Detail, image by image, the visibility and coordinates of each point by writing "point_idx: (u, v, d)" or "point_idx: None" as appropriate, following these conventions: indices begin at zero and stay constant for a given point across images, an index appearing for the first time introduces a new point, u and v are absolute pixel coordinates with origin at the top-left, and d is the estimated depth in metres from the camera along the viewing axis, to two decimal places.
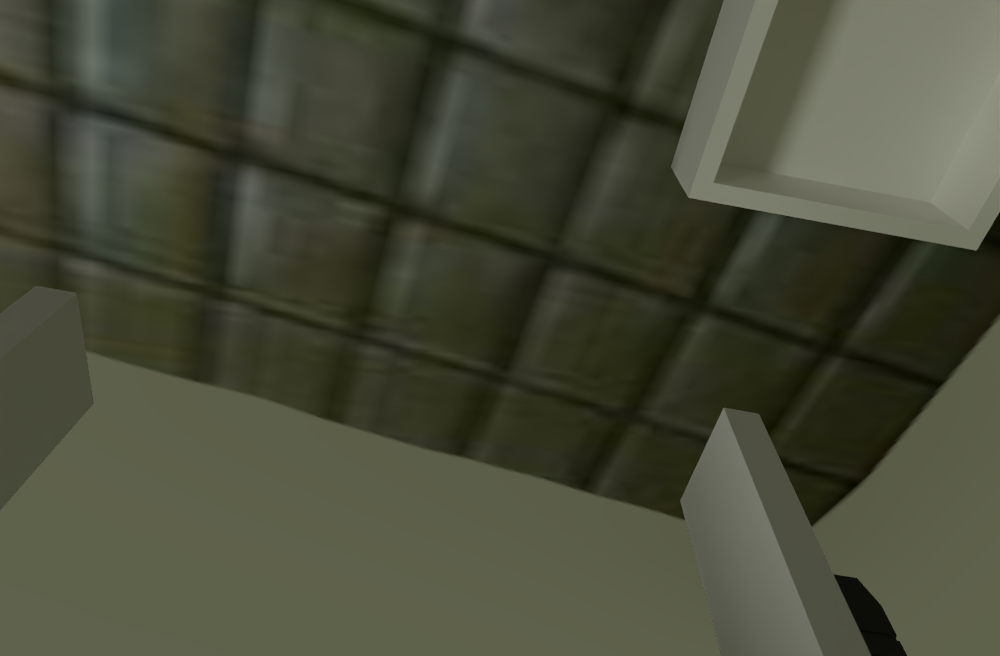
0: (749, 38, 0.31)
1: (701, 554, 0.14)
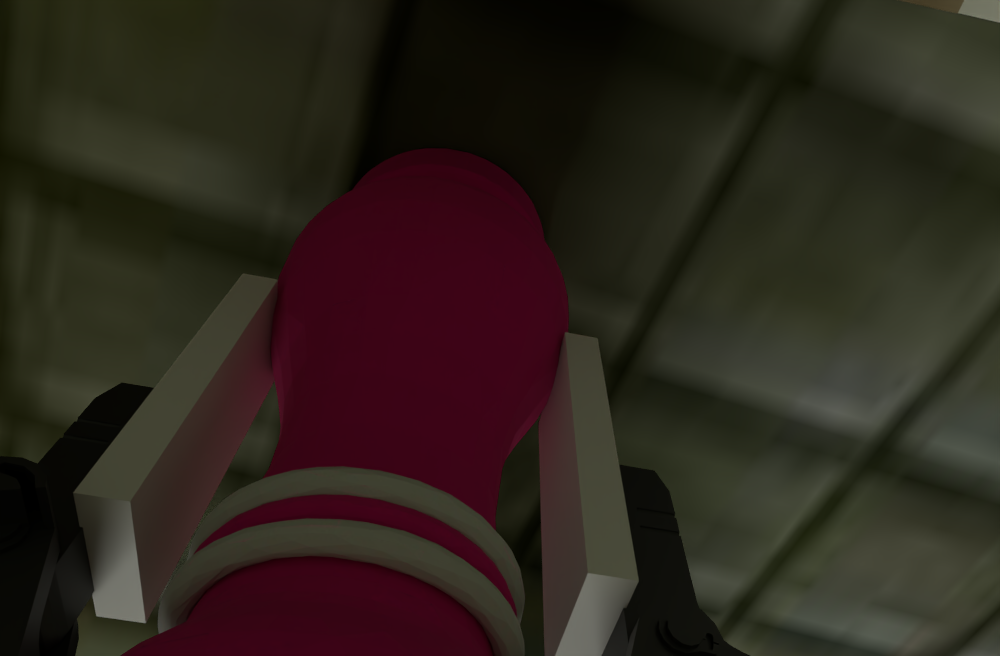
0: None
1: (542, 464, 0.15)
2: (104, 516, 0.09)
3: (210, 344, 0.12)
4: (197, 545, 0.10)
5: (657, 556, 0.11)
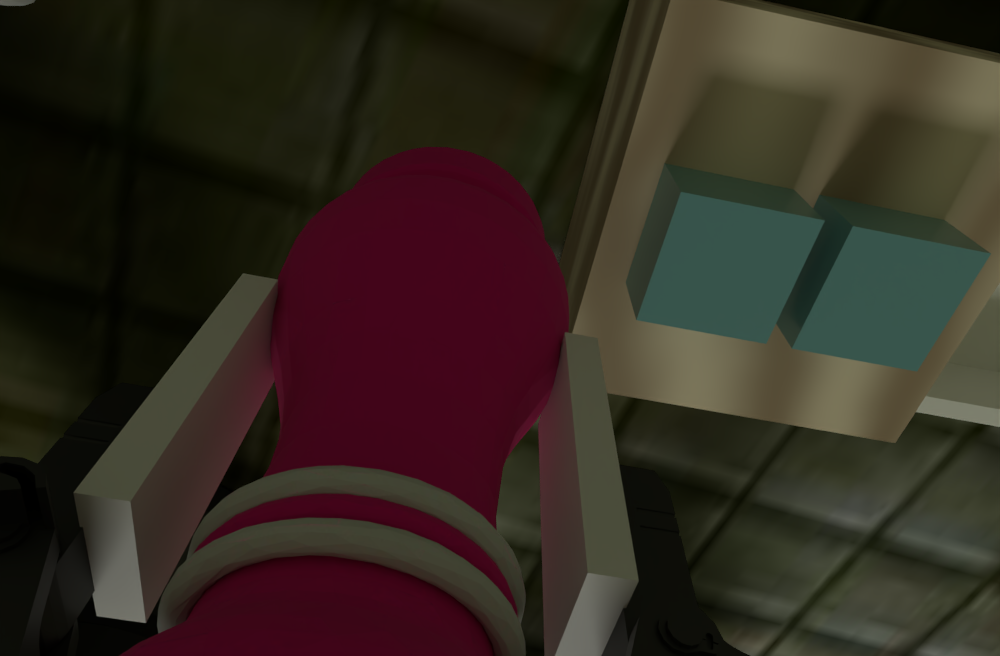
0: (983, 419, 0.34)
1: (542, 464, 0.15)
2: (104, 516, 0.09)
3: (210, 344, 0.12)
4: (197, 544, 0.09)
5: (658, 557, 0.11)
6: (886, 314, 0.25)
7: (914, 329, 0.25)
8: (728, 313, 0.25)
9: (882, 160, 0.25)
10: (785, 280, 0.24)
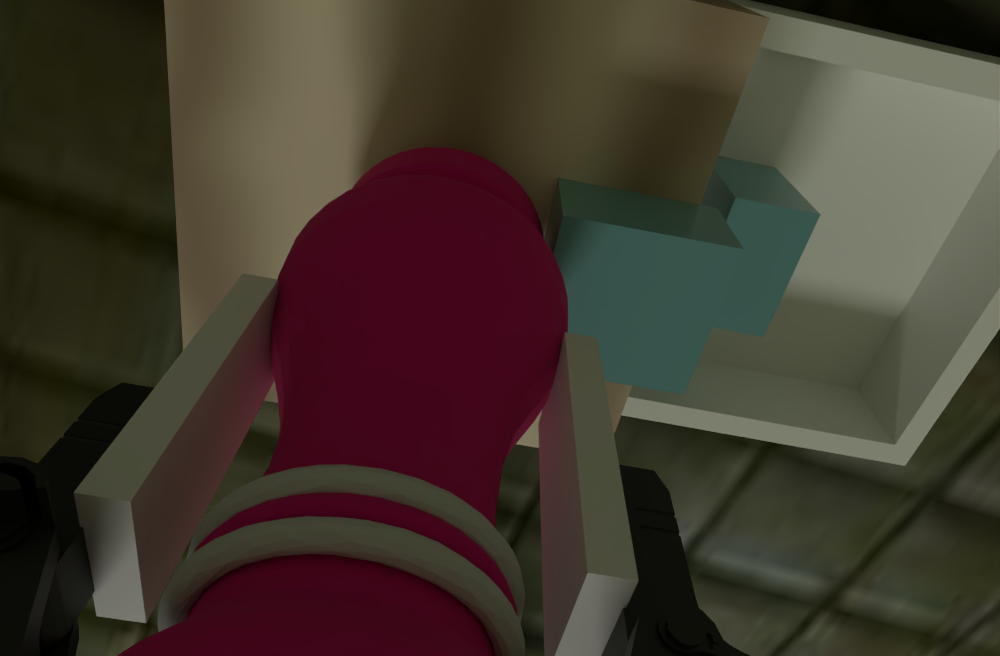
0: (737, 430, 0.29)
1: (542, 464, 0.15)
2: (104, 516, 0.09)
3: (210, 344, 0.12)
4: (197, 543, 0.09)
5: (657, 556, 0.11)
6: None
7: None
8: (634, 359, 0.20)
9: (489, 109, 0.20)
10: (701, 320, 0.20)
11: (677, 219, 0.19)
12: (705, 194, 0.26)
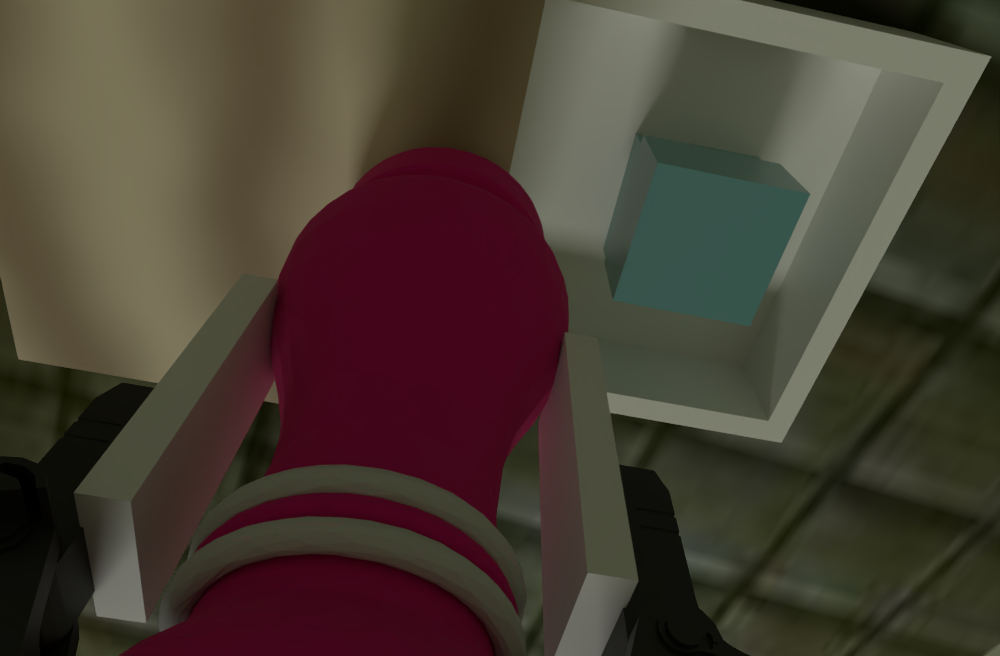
0: None
1: (542, 464, 0.15)
2: (104, 516, 0.09)
3: (210, 344, 0.12)
4: (198, 543, 0.09)
5: (657, 556, 0.11)
6: None
7: None
8: (708, 293, 0.23)
9: (280, 63, 0.19)
10: (769, 258, 0.23)
11: (750, 170, 0.22)
12: None
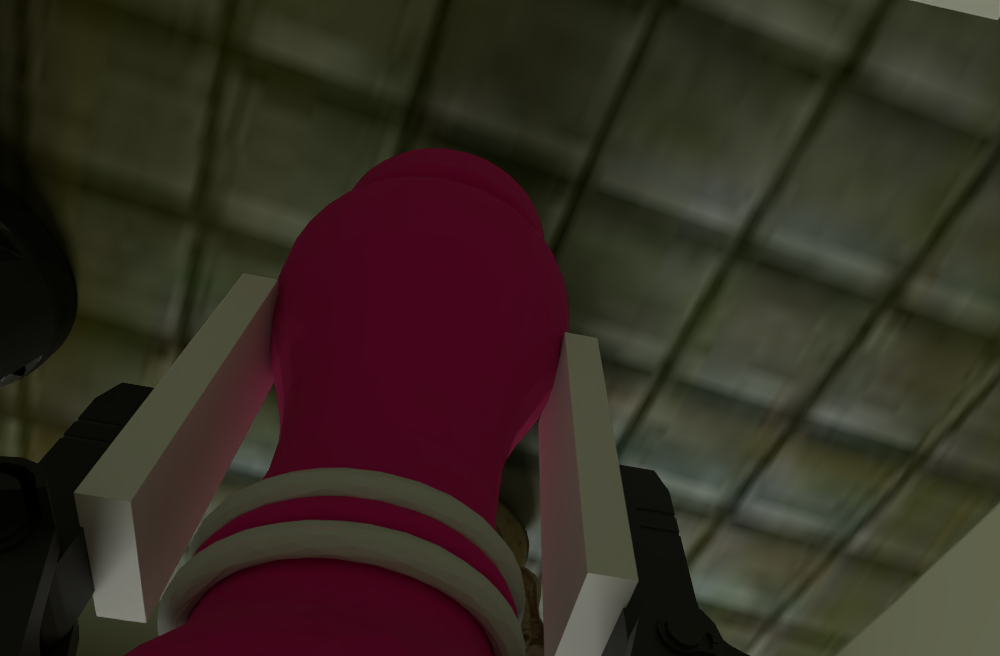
0: None
1: (542, 464, 0.15)
2: (104, 516, 0.09)
3: (210, 344, 0.12)
4: (197, 546, 0.09)
5: (658, 556, 0.11)
6: None
7: None
8: None
9: None
10: None
11: None
12: None
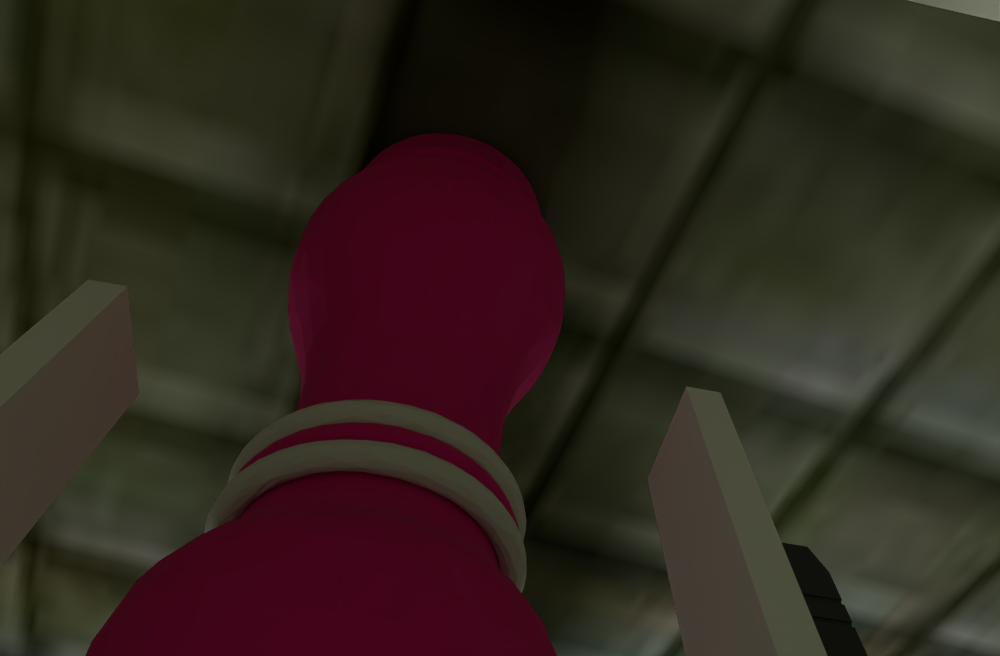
0: None
1: (664, 528, 0.14)
2: None
3: (20, 360, 0.11)
4: (237, 471, 0.11)
5: (838, 653, 0.10)
6: None
7: None
8: None
9: None
10: None
11: None
12: None
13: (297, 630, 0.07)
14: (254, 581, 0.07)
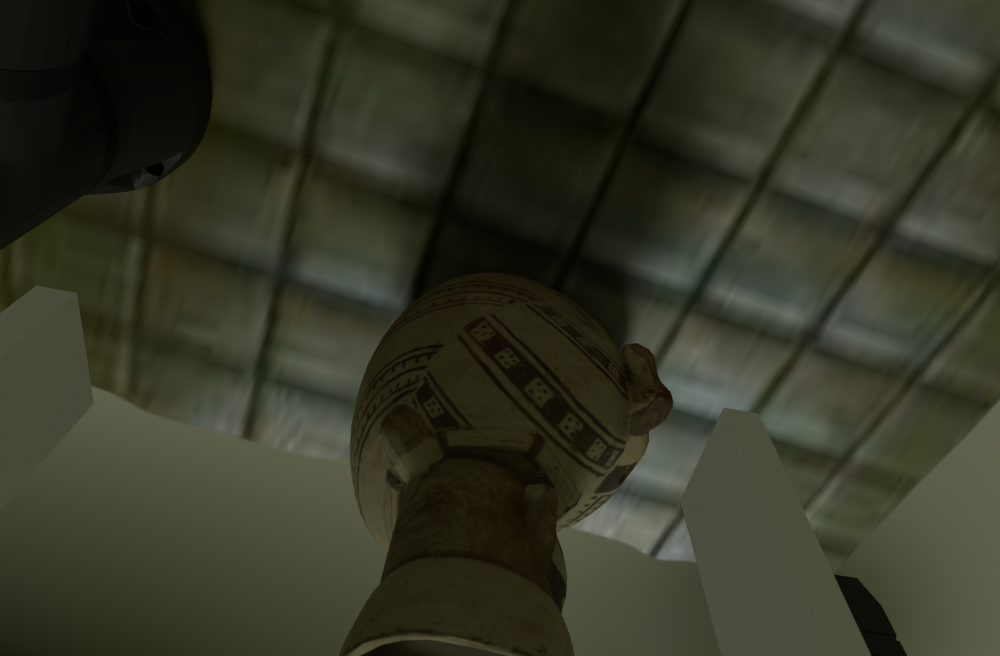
0: None
1: (701, 554, 0.14)
2: None
3: None
4: None
5: None
6: None
7: None
8: None
9: None
10: None
11: None
12: None
13: None
14: None
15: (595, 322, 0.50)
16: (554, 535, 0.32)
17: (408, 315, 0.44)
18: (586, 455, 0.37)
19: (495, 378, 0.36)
